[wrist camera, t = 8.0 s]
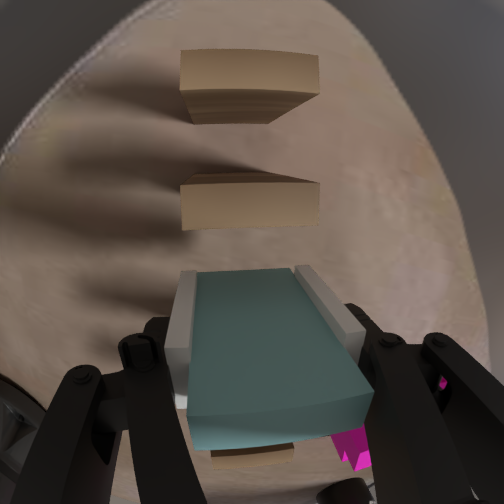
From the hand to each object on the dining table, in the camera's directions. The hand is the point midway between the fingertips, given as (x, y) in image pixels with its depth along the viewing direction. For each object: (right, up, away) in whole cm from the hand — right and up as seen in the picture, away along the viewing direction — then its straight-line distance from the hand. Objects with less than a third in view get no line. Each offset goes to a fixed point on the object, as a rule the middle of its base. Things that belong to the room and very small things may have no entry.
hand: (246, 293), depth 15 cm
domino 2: (-1, +7, +5) cm, 8 cm away
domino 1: (-1, +11, +3) cm, 12 cm away
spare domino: (0, 0, +1) cm, 1 cm away
